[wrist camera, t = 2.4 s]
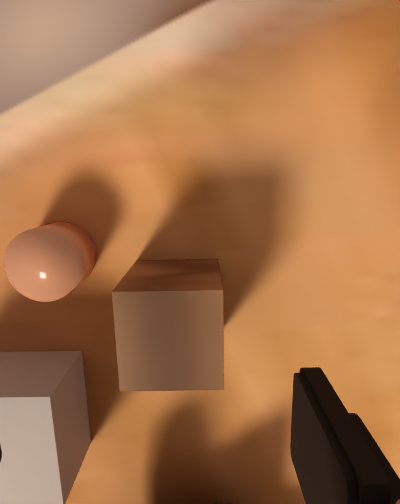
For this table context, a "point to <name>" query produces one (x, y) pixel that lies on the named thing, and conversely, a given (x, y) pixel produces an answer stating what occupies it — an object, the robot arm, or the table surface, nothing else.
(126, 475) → the table surface
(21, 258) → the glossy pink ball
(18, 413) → the grey block
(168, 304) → the brown metal block
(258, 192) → the table surface
